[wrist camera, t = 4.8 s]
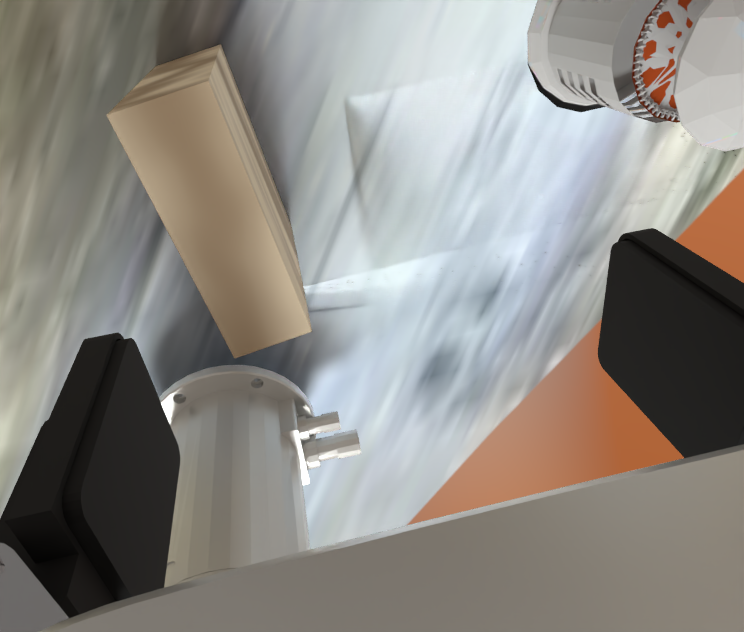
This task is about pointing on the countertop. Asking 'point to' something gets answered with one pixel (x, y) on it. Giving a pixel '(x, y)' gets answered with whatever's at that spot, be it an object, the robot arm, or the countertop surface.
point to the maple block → (216, 197)
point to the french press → (646, 61)
